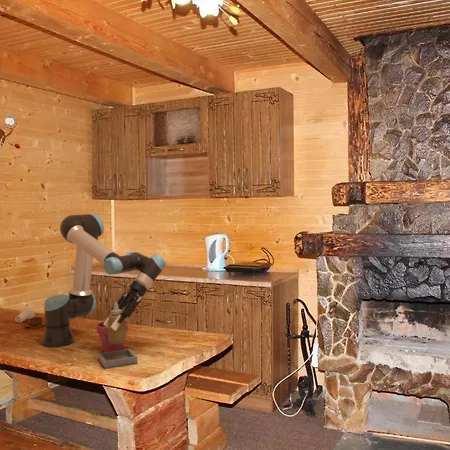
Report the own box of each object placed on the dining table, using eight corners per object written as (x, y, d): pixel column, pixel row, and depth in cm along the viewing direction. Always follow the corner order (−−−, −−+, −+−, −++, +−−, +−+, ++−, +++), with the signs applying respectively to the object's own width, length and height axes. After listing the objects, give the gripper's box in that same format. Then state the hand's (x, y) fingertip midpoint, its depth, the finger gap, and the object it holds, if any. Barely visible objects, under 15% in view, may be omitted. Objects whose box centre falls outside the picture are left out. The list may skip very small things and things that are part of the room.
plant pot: (92, 353, 245) (90, 326, 244) (106, 345, 258) (105, 319, 258) (120, 355, 241) (119, 327, 240) (133, 346, 254) (132, 320, 254)
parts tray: (98, 359, 235) (98, 353, 235) (129, 355, 241) (129, 348, 240) (104, 368, 222) (104, 361, 222) (137, 363, 228) (137, 357, 228)
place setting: (43, 322, 313) (43, 312, 313) (65, 326, 301) (64, 316, 301) (16, 328, 299) (16, 318, 298) (38, 333, 287) (37, 322, 287)
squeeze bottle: (109, 340, 234) (107, 300, 234) (127, 339, 235) (126, 299, 234) (106, 345, 226) (105, 304, 225) (126, 344, 227) (124, 303, 226)
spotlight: (37, 317, 319) (32, 305, 317) (26, 325, 308) (22, 312, 306) (25, 319, 321) (21, 307, 319) (15, 327, 310) (10, 315, 309)
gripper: (157, 292, 232) (125, 336, 222) (135, 287, 247) (105, 328, 237) (146, 282, 228) (113, 326, 219) (125, 277, 243) (93, 318, 234)
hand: (109, 327), depth 228 cm, fingers closed on squeeze bottle, 6 cm apart
